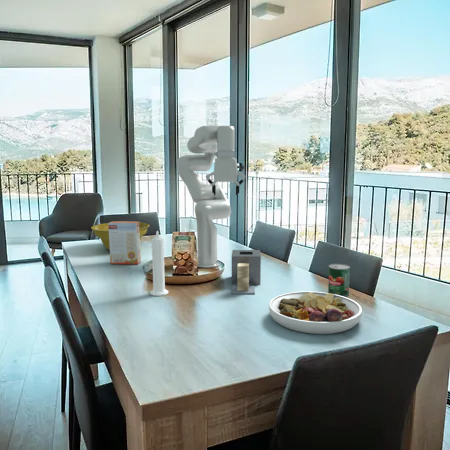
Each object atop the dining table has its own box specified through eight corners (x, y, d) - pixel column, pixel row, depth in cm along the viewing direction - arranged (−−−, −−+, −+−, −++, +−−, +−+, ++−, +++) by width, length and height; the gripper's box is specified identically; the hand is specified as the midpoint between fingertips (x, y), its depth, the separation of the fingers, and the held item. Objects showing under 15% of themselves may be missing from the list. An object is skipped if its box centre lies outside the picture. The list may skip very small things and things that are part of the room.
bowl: (254, 310, 160) (254, 289, 158) (328, 300, 170) (328, 280, 169) (296, 344, 132) (296, 318, 131) (381, 330, 142) (382, 306, 141)
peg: (237, 290, 179) (237, 266, 177) (237, 287, 183) (237, 263, 182) (248, 290, 179) (248, 266, 177) (248, 287, 183) (248, 263, 181)
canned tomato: (349, 291, 180) (350, 264, 178) (348, 297, 172) (350, 269, 170) (328, 289, 182) (329, 263, 180) (327, 296, 174) (328, 268, 172)
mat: (231, 294, 177) (231, 292, 177) (232, 287, 186) (232, 285, 186) (254, 294, 176) (254, 292, 176) (254, 287, 185) (254, 285, 185)
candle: (164, 296, 174) (163, 232, 170) (147, 295, 176) (145, 232, 172) (170, 291, 181) (169, 229, 177) (153, 290, 183) (151, 228, 178)
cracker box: (141, 261, 228) (139, 220, 225) (137, 264, 222) (136, 222, 219) (114, 261, 230) (112, 220, 226) (110, 264, 224) (108, 222, 220)
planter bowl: (102, 243, 275) (101, 221, 272) (155, 243, 273) (154, 221, 271) (83, 255, 243) (82, 230, 241) (143, 255, 242) (142, 230, 239)
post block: (231, 284, 190) (231, 256, 188) (232, 276, 202) (232, 249, 200) (260, 284, 189) (260, 256, 187) (259, 276, 201) (259, 250, 199)
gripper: (204, 155, 191) (205, 195, 194) (245, 155, 190) (245, 196, 193) (206, 154, 199) (206, 193, 202) (246, 154, 198) (245, 194, 201)
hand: (225, 194), depth 198 cm, fingers open, 9 cm apart
